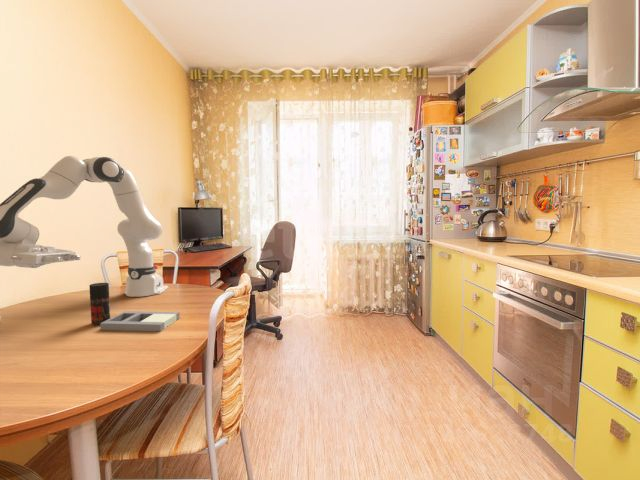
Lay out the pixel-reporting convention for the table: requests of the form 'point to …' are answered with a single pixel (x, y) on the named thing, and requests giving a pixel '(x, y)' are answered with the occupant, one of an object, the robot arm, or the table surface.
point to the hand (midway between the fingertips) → (70, 258)
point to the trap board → (140, 321)
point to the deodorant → (99, 303)
